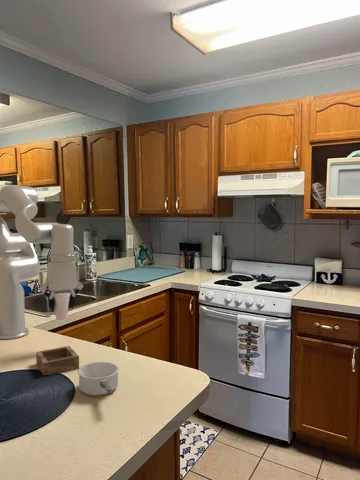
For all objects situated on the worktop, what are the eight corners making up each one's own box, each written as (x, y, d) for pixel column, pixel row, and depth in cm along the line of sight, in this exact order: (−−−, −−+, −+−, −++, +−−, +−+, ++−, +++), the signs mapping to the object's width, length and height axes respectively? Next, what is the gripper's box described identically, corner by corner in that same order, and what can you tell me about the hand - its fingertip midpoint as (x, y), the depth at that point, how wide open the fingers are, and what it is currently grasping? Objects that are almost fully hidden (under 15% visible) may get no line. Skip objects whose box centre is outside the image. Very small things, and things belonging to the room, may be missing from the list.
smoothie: (73, 316, 134) (73, 279, 132) (66, 321, 127) (66, 282, 126) (56, 315, 134) (56, 278, 133) (49, 320, 128) (48, 281, 126)
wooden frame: (36, 363, 119) (36, 352, 118) (69, 357, 125) (69, 345, 124) (43, 376, 110) (43, 363, 109) (79, 368, 116) (79, 356, 115)
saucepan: (87, 418, 87) (87, 396, 87) (75, 383, 106) (74, 365, 105) (133, 408, 92) (133, 387, 92) (113, 376, 110) (113, 358, 110)
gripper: (82, 256, 137) (81, 303, 138) (34, 258, 127) (34, 308, 129) (89, 259, 130) (88, 307, 132) (39, 261, 121) (38, 314, 122)
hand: (61, 307), depth 130 cm, fingers closed on smoothie, 6 cm apart
